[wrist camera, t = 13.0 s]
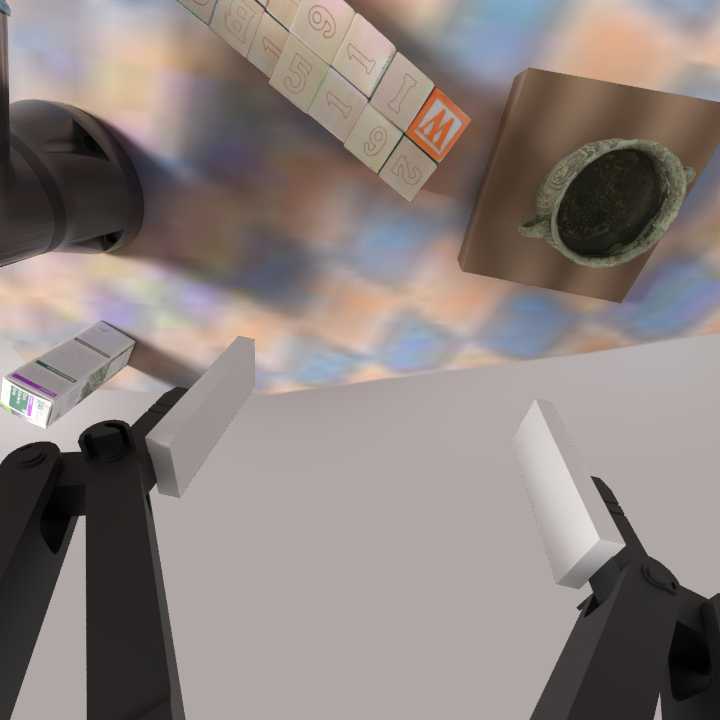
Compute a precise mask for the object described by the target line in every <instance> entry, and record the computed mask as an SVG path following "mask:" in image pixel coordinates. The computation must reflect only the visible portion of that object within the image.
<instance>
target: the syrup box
mask: <svg viewBox="0 0 720 720" xmlns="http://www.w3.org/2000/svg"><path fill="white" fill-rule="evenodd" d="M135 343H136V342H135V341H134V340H132V339H131V338H129V337H128V336H126V335H125V334H123V333H121V332H120V331H118V330H116V329H115V328H113V327H111V326H109V325H108V324H106V323H104V322H102V321H99V322H97V323H95V324H93V325H92V326H90V327H88V328H86V329H85V330H83V331H81V332H79V333H78V334H76V335H74V336H73V337H71V338H69V339H67V340H66V341H64V342H62V343H61V344H59V345H57V346H55V347H54V348H52V349H50V350H49V351H47V352H45V353H44V354H42V355H40V356H38V357H37V358H35V359H33V360H31V361H30V362H28V363H26V364H25V365H23V366H21V367H19V368H18V369H16V370H14V371H13V372H11V373H9V374H8V375H6V376H4V377H3V386H2V396H1V404H0V406H1V407H3V408H4V409H6V410H7V411H9V412H11V413H12V414H14V415H16V416H18V417H20V418H22V419H24V420H26V421H28V422H30V423H33V424H35V425H38V426H40V427H43V428H44V429H46V428H48V427H49V426H50V425H52V424H53V423H54V422H55V421H57V420H58V419H59V418H60V417H62V416H63V415H64V414H66V413H67V412H68V411H69V410H71V409H72V408H73V407H75V406H76V405H77V404H78V403H80V402H81V401H82V400H83V399H85V398H86V397H87V396H88V395H90V394H91V393H92V392H94V391H95V390H96V389H97V388H99V387H100V386H101V385H103V384H104V383H105V382H106V381H108V380H109V379H110V378H111V377H113V376H114V375H115V374H116V373H118V372H119V371H120V370H122V369H123V368H124V367H125V366H127V364H128V361H129V358H130V356H131V353H132V350H133V348H134V345H135Z"/></svg>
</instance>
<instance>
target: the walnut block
mask: <svg viewBox="0 0 720 720" xmlns="http://www.w3.org/2000/svg"><path fill="white" fill-rule="evenodd" d="M614 138H620V139H624V140H635V139H646V140H649V141H653V142H657V143H660V144H662V145H663V146H664V147H666V148H667V149H668V150H669V151H671V152H672V153H673V154H675V155H676V156H677V157H678V159H679V160H680V162H681V163H682V165H683V166H687V167H692V168H694V170H695V172H696V176H695V177H694V178H693V179H692V181H691V182H690V183H689V184H688V185H687V186H686V194H685V198H686V197H687V195H688V193H689V192H690V190H691V189H692V187H693V185H694V184H695V182H696V181H697V179H698V177H699V176H700V174H701V172H702V171H703V169H704V168H705V166H706V164H707V163H708V161H709V159H710V158H711V156H712V155H713V153H714V151H715V150H716V148H717V146H718V145H719V143H720V102H714V101H709V100H703V99H698V98H692V97H687V96H681V95H676V94H671V93H665V92H660V91H654V90H649V89H643V88H638V87H632V86H627V85H621V84H616V83H610V82H605V81H599V80H594V79H588V78H583V77H577V76H572V75H566V74H561V73H555V72H550V71H544V70H539V69H533V68H528V69H526V70H525V71H523V72H522V73H520V74H519V75H517V76H516V77H515V79H514V82H513V85H512V88H511V91H510V94H509V98H508V101H507V104H506V107H505V110H504V113H503V117H502V120H501V123H500V126H499V129H498V133H497V136H496V139H495V142H494V145H493V148H492V152H491V155H490V158H489V161H488V164H487V167H486V171H485V174H484V177H483V180H482V183H481V186H480V190H479V193H478V196H477V199H476V202H475V206H474V209H473V212H472V215H471V218H470V221H469V225H468V228H467V231H466V234H465V237H464V240H463V244H462V247H461V250H460V253H459V256H458V261H459V264H460V267H461V270H462V271H464V272H469V273H474V274H479V275H484V276H489V277H494V278H499V279H504V280H509V281H514V282H519V283H523V284H528V285H533V286H538V287H543V288H548V289H553V290H558V291H563V292H568V293H573V294H578V295H583V296H588V297H593V298H598V299H603V300H608V301H613V302H618V303H621V302H622V301H623V299H624V297H625V296H626V294H627V293H628V291H629V289H630V288H631V286H632V284H633V283H634V281H635V280H636V278H637V276H638V275H639V273H640V271H641V270H642V268H643V267H644V265H645V263H646V262H647V260H648V258H649V257H650V255H651V254H652V252H653V250H654V249H655V247H656V245H657V244H658V242H659V241H660V240H659V241H657V242H656V243H655V244H654V245H653V246H652V247H651V248H649V249H648V250H647V251H646V252H644V253H642V254H641V255H639V256H637V257H635V258H634V259H632V260H630V261H628V262H626V263H623V264H620V265H617V266H612V267H600V268H592V267H588V266H584V265H580V264H577V263H576V262H574V261H573V260H571V259H570V258H568V257H566V256H565V255H563V253H562V252H560V251H559V250H557V249H556V248H554V247H553V246H551V245H549V244H548V243H547V241H546V240H545V239H544V238H533V237H524V236H521V235H520V234H519V233H518V227H519V226H520V224H521V220H523V219H525V218H527V217H530V216H534V215H535V199H536V195H537V192H538V190H539V188H540V186H541V184H542V182H543V180H544V178H545V176H546V175H547V174H548V173H549V172H550V171H551V169H552V168H553V167H554V166H555V165H556V164H557V163H558V162H559V161H560V160H562V159H563V158H565V157H566V156H568V155H570V154H571V153H573V152H574V151H576V150H578V149H579V148H581V147H582V146H584V145H585V144H587V143H591V142H597V141H603V140H609V139H614ZM685 198H684V200H685ZM683 202H684V201H683Z"/></svg>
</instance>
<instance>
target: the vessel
mask: <svg viewBox="0 0 720 720" xmlns="http://www.w3.org/2000/svg"><path fill="white" fill-rule="evenodd" d="M695 176H696V172H695V170H694V168H692V167H687V166H683V165H682V163H681V162H680V160H679V159H678V157H677V156H676V155H675V154H673V153H672V152H671V151H669V150H668V149H667V148H666V147H664V146H663V145H662V144H660V143H657V142H653V141H649V140H646V139H635V140H624V139H620V138H614V139H609V140H603V141H597V142H591V143H587V144H585V145H584V146H582V147H581V148H579V149H578V150H576V151H574V152H573V153H571V154H570V155H568V156H566V157H565V158H563V159H562V160H560V161H559V162H558V163H557V164H556V165H555V166H554V167H553V168H552V169H551V171H550V172H549V173H548V174H547V175H546V176H545V178H544V180H543V182H542V184H541V186H540V188H539V190H538V192H537V195H536V199H535V215H534V216H530V217H527V218H525V219H523V220H521V224H520V226H519V227H518V233H519V234H520V235H521V236H524V237H533V238H544V239H545V240H546V241H547V243H548V244H549V245H551V246H553V247H554V248H556V249H557V250H559V251H560V252H562V253H563V255H565V256H566V257H568V258H570V259H571V260H573V261H574V262H576V263H577V264H580V265H584V266H588V267H592V268H600V267H612V266H617V265H620V264H623V263H626V262H628V261H630V260H632V259H634V258H635V257H637V256H639V255H641V254H642V253H644V252H646V251H647V250H648V249H649V248H651V247H652V246H653V245H654V244H655V243H656V242H657V241H659V240H660V239H661V238H662V237H663V236H664V234H665V233H666V231H667V230H668V229H669V227H670V226H671V224H672V223H673V222H674V220H675V219H676V217H677V216H678V213H679V211H680V209H681V207H682V205H683V201H684V198H685V194H686V186H687V185H688V184H689V183H690V182H691V181H692V179H693V178H694V177H695Z"/></svg>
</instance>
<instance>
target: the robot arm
mask: <svg viewBox="0 0 720 720" xmlns="http://www.w3.org/2000/svg"><path fill="white" fill-rule="evenodd" d="M7 15H8V16H10V17H11V10H10V8H9V6H8V4H7V3H6V0H0V267H3V266H6V265H9V264H12V263H15V262H18V261H21V260H25V259H28V258H31V257H34V256H37V255H40V254H44V253H47V252H64V253H82V254H100V253H106V252H109V251H112V250H115V249H118V248H121V247H123V246H125V245H127V244H128V243H129V242H131V241H132V240H133V239H134V237H135V236H136V235H137V233H138V231H139V229H140V226H141V223H142V218H143V198H142V192H141V188H140V184H139V181H138V178H137V176H136V173H135V171H134V168H133V166H132V164H131V162H130V161H129V159H128V157H127V155H126V154H125V152H124V151H123V149H122V148H121V147H120V145H119V144H118V143H117V141H116V140H115V139H114V138H113V137H112V135H111V134H110V133H109V132H108V131H107V130H106V129H105V128H104V127H103V126H102V125H101V124H99V123H98V122H97V121H96V120H94V119H93V118H92V117H90V116H89V115H87V114H86V113H84V112H82V111H81V110H79V109H77V108H75V107H72V106H70V105H67V104H64V103H60V102H54V101H45V100H34V99H31V100H21V101H17V102H14V103H11V104H9V73H8V26H7ZM254 387H255V339H251V338H246V337H242V336H238V337H237V338H236V339H235V341H234V342H233V343H232V344H231V345H230V346H229V347H228V348H227V349H226V350H225V351H224V352H223V353H222V355H221V356H220V357H219V358H218V359H217V360H216V361H215V362H214V363H213V364H212V365H211V366H210V368H209V369H208V370H207V371H206V372H205V373H204V374H203V375H202V376H201V377H200V378H199V379H198V380H197V382H196V383H195V384H194V385H193V386H192V387H191V388H190V389H186V388H182V387H176V388H174V389H172V390H170V391H168V392H166V393H164V394H163V395H162V397H160V399H158V401H156V403H155V404H153V405H152V406H151V408H149V409H148V412H145V413H144V414H143V415H142V416H141V417H140V418H139V419H138V420H137V421H136V422H135V424H133V425H132V426H131V427H130V426H129V424H128V423H126V422H124V421H120V420H108V421H103V422H99V423H96V424H94V425H92V426H91V427H89V428H87V429H86V430H85V431H84V432H83V433H82V434H81V435H80V437H79V440H78V443H79V446H80V448H81V451H82V452H65V453H61V452H60V449H59V448H58V446H57V445H56V444H54V443H51V442H35V443H30V444H27V445H25V446H22V447H20V448H18V449H16V450H14V451H13V452H11V453H10V454H8V456H7V457H6V458H5V459H4V460H3V461H2V463H1V464H0V720H10V718H11V715H12V712H13V709H14V706H15V703H16V700H17V697H18V694H19V691H20V688H21V685H22V682H23V679H24V676H25V674H26V670H27V668H28V664H29V662H30V659H31V656H32V653H33V649H34V647H35V644H36V641H37V638H38V635H39V632H40V629H41V626H42V623H43V620H44V617H45V615H46V611H47V609H48V605H49V603H50V600H51V597H52V594H53V591H54V588H55V585H56V582H57V579H58V576H59V573H60V570H61V567H62V564H63V561H64V558H65V556H66V553H67V550H68V546H69V544H70V541H71V538H72V535H73V532H74V529H75V526H76V523H77V520H78V517H79V516H83V515H86V646H87V647H86V648H87V649H86V651H87V653H86V654H87V655H86V656H87V720H186V719H185V713H184V707H183V701H182V695H181V689H180V683H179V676H178V670H177V663H176V657H175V651H174V645H173V639H172V632H171V626H170V619H169V613H168V607H167V601H166V594H165V589H164V583H163V576H162V569H161V563H160V557H159V550H158V544H157V539H156V532H155V526H154V520H153V513H152V507H151V500H150V495H149V492H150V490H151V489H152V488H153V486H154V485H155V484H156V483H157V487H158V491H159V493H161V494H165V495H170V496H174V497H178V498H180V497H181V496H182V494H183V493H184V491H185V490H186V488H187V487H188V485H189V484H190V482H191V481H192V479H193V478H194V476H195V475H196V473H197V472H198V470H199V469H200V467H201V466H202V464H203V463H204V461H205V460H206V458H207V457H208V455H209V454H210V453H211V451H212V449H213V448H214V447H215V445H216V444H217V442H218V441H219V439H220V438H221V436H222V435H223V433H224V432H225V430H226V428H227V427H228V426H229V424H230V423H231V421H232V420H233V418H234V417H235V415H236V414H237V412H238V410H239V409H240V408H241V406H242V404H243V403H244V401H245V400H246V399H247V397H248V396H249V394H250V393H251V391H252V390H253V388H254ZM511 442H512V445H513V449H514V452H515V455H516V458H517V461H518V464H519V468H520V471H521V474H522V477H523V480H524V484H525V487H526V490H527V493H528V496H529V499H530V503H531V506H532V509H533V512H534V515H535V518H536V522H537V525H538V528H539V531H540V534H541V537H542V541H543V543H544V547H545V550H546V553H547V556H548V560H549V563H550V566H551V569H552V572H553V575H554V579H555V581H556V584H558V585H563V586H567V587H571V588H576V589H580V588H581V587H582V586H583V585H584V584H585V583H586V582H587V581H588V580H589V583H590V585H591V588H592V590H593V593H592V594H591V595H590V596H589V597H588V598H587V599H585V600H584V601H583V602H582V603H581V604H580V605H579V606H578V607H577V609H578V610H579V611H580V610H581V609H582V608H583V609H582V611H581V613H580V615H579V617H578V620H577V622H576V624H575V626H574V628H573V630H572V632H571V634H570V636H569V638H568V640H567V643H566V645H565V647H564V649H563V651H562V653H561V655H560V657H559V659H558V661H557V663H556V666H555V668H554V670H553V672H552V674H551V676H550V678H549V680H548V682H547V684H546V686H545V689H544V691H543V693H542V695H541V697H540V699H539V702H538V703H537V705H536V707H535V709H534V712H533V714H532V716H531V718H530V720H653V719H654V715H655V710H656V706H657V702H658V698H659V694H660V697H661V712H662V720H720V593H718V594H716V595H715V596H713V597H712V598H710V599H707V598H705V597H703V596H701V595H699V594H697V593H695V592H693V591H691V590H689V589H686V588H685V587H683V586H681V585H680V584H679V582H678V580H677V579H676V578H675V576H674V575H673V574H672V573H671V572H670V570H668V569H667V568H666V567H665V566H664V565H663V564H661V563H660V562H659V561H657V560H655V559H653V558H652V557H649V556H648V555H647V553H646V552H645V550H644V548H643V546H642V544H641V543H640V541H639V539H638V537H637V535H636V534H635V532H634V530H633V528H632V527H631V525H630V523H629V521H628V519H627V518H626V517H625V516H624V512H623V510H622V509H621V507H620V506H618V504H619V503H618V501H617V500H616V498H615V496H614V494H613V493H612V491H611V490H610V489H609V488H608V486H607V485H606V484H605V483H604V482H603V481H602V480H601V479H600V478H597V477H593V476H590V475H589V473H588V471H587V469H586V467H585V465H584V463H583V461H582V459H581V457H580V455H579V454H578V452H577V450H576V448H575V446H574V444H573V442H572V440H571V438H570V436H569V434H568V432H567V431H566V429H565V427H564V425H563V423H562V421H561V419H560V417H559V415H558V413H557V411H556V409H555V407H554V405H553V404H552V402H547V401H543V400H538V399H535V400H534V402H533V404H532V405H531V407H530V409H529V411H528V412H527V414H526V417H525V418H524V420H523V421H522V423H521V425H520V427H519V428H518V430H517V432H516V434H515V436H514V437H513V439H512V441H511Z"/></svg>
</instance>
